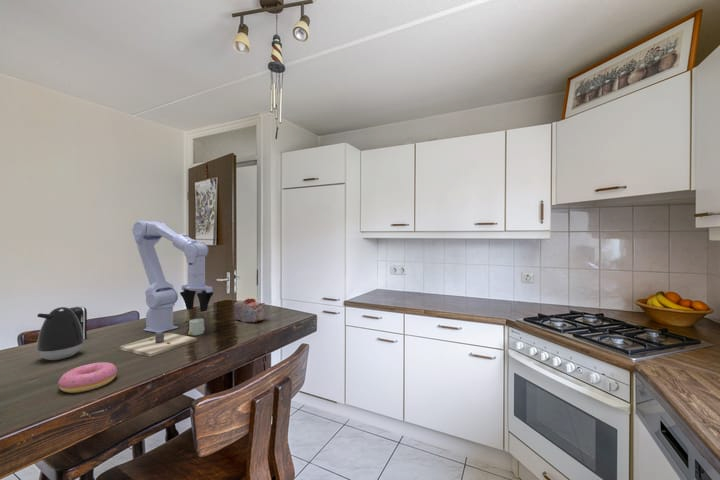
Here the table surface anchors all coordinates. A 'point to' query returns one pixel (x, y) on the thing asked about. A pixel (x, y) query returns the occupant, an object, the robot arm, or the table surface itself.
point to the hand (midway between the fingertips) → (196, 310)
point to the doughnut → (87, 377)
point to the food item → (249, 310)
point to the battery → (81, 318)
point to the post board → (157, 344)
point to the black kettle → (59, 334)
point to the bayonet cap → (196, 327)
